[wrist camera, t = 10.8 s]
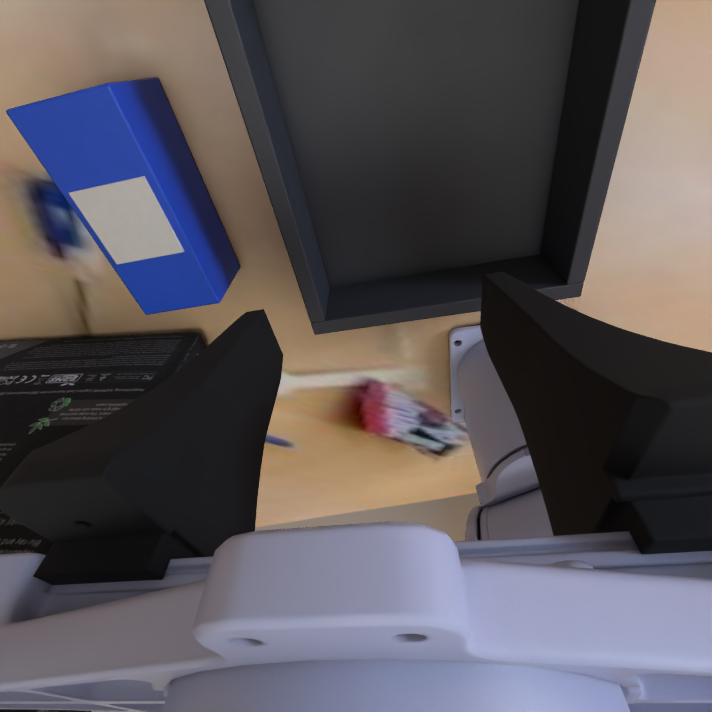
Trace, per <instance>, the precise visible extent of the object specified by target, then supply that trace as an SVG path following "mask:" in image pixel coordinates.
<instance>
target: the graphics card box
mask: <svg viewBox="0 0 712 712" xmlns="http://www.w3.org/2000/svg"><path fill="white" fill-rule="evenodd" d="M205 348H206V346H205V345H204V342H203V340H202V337H201V336H200V334H199V333H183V334H178V333H177V334H156V335H140V336H139V335H132V336H116V337H88V338H63V339H44V340H20V341H0V487H1V486H2V485H3V484H4V483H5V481H6V480H7V479H8V478H9V477H10V476H11V474H12V473H13V472H14V471H15V470H16V468H17V467H18V466H19V465H20V464H21V462H22V461H23V460H24V459H25V458H26V456H27V455H28V454H29V453H30V452H31V451H33V450H35V449H37V448H40V447H42V446H45V445H47V444H49V443H51V442H54V441H56V440H58V439H60V438H62V437H65V436H67V435H69V434H71V433H74V432H76V431H78V430H80V429H82V428H84V427H86V426H88V425H90V424H92V423H94V422H96V421H98V420H100V419H102V418H104V417H106V416H108V415H110V414H112V413H113V412H115V411H117V410H119V409H121V408H122V407H124V406H126V405H127V404H129V403H131V402H132V401H134V400H136V399H137V398H139V397H141V396H142V395H144V394H145V393H147V392H149V391H150V390H152V389H153V388H155V387H156V386H158V385H159V384H161V383H162V382H164V381H165V380H166V379H168V378H169V377H171V376H172V375H173V374H175V373H176V372H177V371H179V370H180V369H181V368H183V367H184V366H185V365H186V364H187V363H189V362H190V361H191V360H192V359H193V358H195V357H196V356H197V355H198V354H199V353H201V352H202V351H203V350H204V349H205ZM53 544H54V542H52V541H51V540H49V539H47V538H45V537H43V536H42V535H40V534H38V533H36V532H34V531H33V530H31V529H29V528H27V527H26V526H24V525H22V524H20V523H18V522H17V521H15V520H14V519H12V518H11V517H9V516H8V515H6V514H5V513H4V512H3V511H2V510H1V509H0V555H2V554H16V553H39V554H43V555H47V553H48V551H49V550H50V548H51V547H52V545H53ZM0 712H91V711H81V710H39V709H0Z"/></svg>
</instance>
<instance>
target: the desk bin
mask: <svg viewBox="0 0 712 712" xmlns="http://www.w3.org/2000/svg"><path fill="white" fill-rule="evenodd" d="M204 2H205V5H206V8H207V11H208V14H209V17H210V20H211V23H212V26H213V29H214V32H215V35H216V38H217V41H218V44H219V47H220V50H221V53H222V56H223V59H224V62H225V65H226V68H227V71H228V74H229V77H230V80H231V83H232V86H233V89H234V92H235V95H236V98H237V101H238V104H239V107H240V110H241V113H242V116H243V119H244V122H245V125H246V128H247V131H248V134H249V137H250V140H251V144H252V147H253V150H254V153H255V156H256V159H257V162H258V165H259V168H260V171H261V174H262V177H263V180H264V183H265V186H266V189H267V192H268V195H269V198H270V201H271V204H272V207H273V210H274V213H275V216H276V219H277V222H278V225H279V228H280V231H281V234H282V237H283V240H284V243H285V246H286V249H287V252H288V255H289V258H290V261H291V264H292V267H293V270H294V273H295V276H296V279H297V282H298V285H299V288H300V291H301V294H302V298H303V301H304V304H305V307H306V310H307V313H308V316H309V319H310V322H311V325H312V328H313V331H314V334H315V335H317V334H324V333H331V332H338V331H344V330H351V329H358V328H365V327H372V326H379V325H386V324H393V323H400V322H407V321H414V320H421V319H428V318H435V317H441V316H448V315H455V314H462V313H469V312H476V311H481V301H482V280H483V275H486V274H492V273H498V272H505V273H507V274H509V275H511V276H512V277H514V278H516V279H518V280H519V281H521V282H523V283H525V284H526V285H528V286H530V287H531V288H533V289H535V290H537V291H538V292H540V293H542V294H544V295H546V296H548V297H549V298H551V299H553V300H559V299H566V298H573V297H579V296H581V292H582V288H583V282H584V280H585V276H586V272H587V268H588V264H589V260H590V256H591V253H592V249H593V245H594V241H595V237H596V233H597V229H598V225H599V221H600V217H601V214H602V210H603V206H604V202H605V198H606V194H607V190H608V186H609V182H610V178H611V174H612V171H613V167H614V163H615V159H616V155H617V151H618V147H619V143H620V139H621V135H622V131H623V128H624V124H625V120H626V116H627V112H628V108H629V104H630V100H631V96H632V92H633V89H634V85H635V81H636V77H637V73H638V69H639V65H640V61H641V57H642V53H643V49H644V46H645V42H646V38H647V34H648V30H649V26H650V22H651V18H652V14H653V10H654V6H655V3H656V0H204Z"/></svg>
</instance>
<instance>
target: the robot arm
mask: <svg viewBox="0 0 712 712" xmlns="http://www.w3.org/2000/svg"><path fill="white" fill-rule="evenodd" d="M457 340H460V341H459V342H457V343H455V341H457ZM449 349H450V393H451V418H452V421H453V422H456V423H459V422H465V423H466V427H467V430H468V434H469V437H470V441H471V445H472V448H473V452H474V456H475V459H476V463H477V466H478V470H479V474H480V477H481V481H482V483H480V484H478V485H476V489H477V493H478V497H479V501H480V505H479V506H476V507H474V508H473V509H472V510H471V511H470V513H469V515H468V519H467V524H466V532H465V541H461V542H453V541H452V540H451V539H450V537H449V536H448V535H447V534H445V533H444V532H443V531H440V530H438V529H435V528H432V527H429V526H427V525H424V524H421V523H407V522H377V523H363V524H348V525H335V526H319V527H305V528H291V529H276V530H264V531H263V530H262V531H255V520H256V508H257V496H258V488H259V479H260V470H261V463H262V456H263V449H264V443H265V438H266V434H267V430H268V426H269V422H270V419H271V415H272V411H273V407H274V403H275V400H276V396H277V392H278V388H279V384H280V380H281V372H282V361H283V354H282V351H281V349H280V347H279V344H278V342H277V340H276V337H275V335H274V332H273V330H272V328H271V325H270V323H269V321H268V318H267V316H266V314H265V311H264V309H263V310H257V311H250V312H246V313H245V314H244V315H242V316H241V317H240V318H239V319H237V320H236V321H235V322H234V323H233V324H232V325H231V326H229V327H228V328H227V329H226V330H225V331H224V332H223V333H222V334H221V335H220V336H219V337H217V338H216V339H215V340H214V341H213V342H212V343H211V344H210V345H209V346H208V347H206V348H205V349H204V350H203V351H202V352H201V353H199V354H198V355H197V356H196V357H195V358H193V359H192V360H191V361H190V362H189V363H187V364H186V365H185V366H184V367H183V368H181V369H180V370H179V371H177V372H176V373H175V374H173V375H172V376H171V377H169V378H168V379H166V380H165V381H164V382H162V383H161V384H159V385H158V386H156V387H155V388H153V389H152V390H150V391H149V392H147V393H145V394H144V395H142V396H141V397H139V398H137V399H136V400H134V401H132V402H131V403H129V404H127V405H126V406H124V407H122V408H121V409H119V410H117V411H115V412H113V413H112V414H110V415H108V416H106V417H104V418H102V419H100V420H98V421H96V422H94V423H92V424H90V425H88V426H86V427H84V428H82V429H80V430H78V431H76V432H74V433H71V434H69V435H67V436H65V437H62V438H60V439H58V440H56V441H54V442H51V443H49V444H47V445H45V446H42V447H40V448H37V449H35V450H33V451H31V452H30V453H29V454H28V455H27V456H26V458H25V459H24V460H23V461H22V462H21V464H20V465H19V466H18V467H17V468H16V470H15V471H14V472H13V473H12V474H11V476H10V477H9V478H8V479H7V480H6V481H5V483H4V484H3V485H2V486H1V487H0V509H1V510H2V511H3V512H4V513H5V514H6V515H8V516H9V517H11V518H12V519H14V520H15V521H17V522H18V523H20V524H22V525H24V526H26V527H27V528H29V529H31V530H33V531H34V532H36V533H38V534H40V535H42V536H43V537H45V538H47V539H49V540H51V541H52V542H54V544H53V545H52V547H51V548H50V550H49V551H48V553H47V555H43V554H39V553H16V554H2V555H0V709H39V710H81V711H113V712H712V353H711V352H707V351H702V350H698V349H693V348H689V347H684V346H680V345H676V344H672V343H668V342H664V341H660V340H657V339H653V338H650V337H647V336H643V335H640V334H636V333H633V332H630V331H627V330H624V329H621V328H618V327H615V326H612V325H610V324H607V323H604V322H602V321H599V320H597V319H594V318H591V317H589V316H587V315H584V314H582V313H580V312H578V311H576V310H574V309H571V308H569V307H567V306H565V305H563V304H561V303H559V302H557V301H555V300H553V299H551V298H549V297H548V296H546V295H544V294H542V293H540V292H538V291H537V290H535V289H533V288H531V287H530V286H528V285H526V284H525V283H523V282H521V281H519V280H518V279H516V278H514V277H512V276H511V275H509V274H507V273H505V272H498V273H492V274H486V275H483V280H482V301H481V322H480V325H477V326H470V327H463V328H456V329H453V330H452V331H451V332H450V334H449Z"/></svg>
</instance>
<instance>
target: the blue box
mask: <svg viewBox="0 0 712 712" xmlns="http://www.w3.org/2000/svg"><path fill="white" fill-rule="evenodd" d="M6 112H7V114H8V116H9V117H10V119H11V120H12V121H13V123H14V124H15V126H16V127H17V129H18V130H19V132H20V133H21V135H22V136H23V137H24V139H25V140H26V142H27V143H28V145H29V146H30V148H31V149H32V150H33V152H34V153H35V155H36V156H37V158H38V159H39V161H40V162H41V164H42V165H43V166H44V168H45V169H46V171H47V172H48V174H49V175H50V177H51V178H52V179H53V181H54V182H55V184H56V185H57V187H58V188H59V190H60V191H61V193H62V194H63V195H64V197H65V198H66V200H67V201H68V203H69V204H70V206H71V207H72V208H73V210H74V211H75V213H76V214H77V216H78V217H79V219H80V220H81V222H82V223H83V224H84V226H85V227H86V229H87V230H88V232H89V233H90V235H91V236H92V237H93V239H94V240H95V242H96V243H97V245H98V246H99V248H100V249H101V251H102V252H103V253H104V255H105V256H106V258H107V259H108V261H109V262H110V264H111V265H112V266H113V268H114V269H115V271H116V272H117V274H118V275H119V277H120V278H121V280H122V281H123V282H124V284H125V285H126V287H127V288H128V290H129V291H130V293H131V294H132V295H133V297H134V298H135V300H136V301H137V303H138V304H139V306H140V307H141V309H142V310H143V311H144V313H145V314H146V315H148V314H154V313H160V312H166V311H173V310H179V309H185V308H191V307H197V306H203V305H209V304H215V303H220V301H221V300H222V298H223V296H224V294H225V293H226V291H227V289H228V288H229V286H230V284H231V282H232V281H233V279H234V277H235V275H236V274H237V272H238V270H239V268H240V265H239V263H238V261H237V258H236V256H235V254H234V251H233V249H232V247H231V244H230V242H229V240H228V238H227V235H226V233H225V231H224V228H223V226H222V224H221V222H220V219H219V217H218V215H217V212H216V210H215V208H214V205H213V203H212V201H211V199H210V196H209V194H208V192H207V189H206V187H205V185H204V183H203V180H202V178H201V176H200V173H199V171H198V169H197V166H196V164H195V162H194V160H193V157H192V155H191V153H190V150H189V148H188V146H187V144H186V141H185V139H184V137H183V134H182V132H181V130H180V127H179V125H178V123H177V121H176V118H175V116H174V114H173V111H172V109H171V107H170V105H169V102H168V100H167V98H166V95H165V93H164V91H163V88H162V86H161V84H160V82H159V80H158V78H148V79H139V80H131V81H122V82H114V83H106V84H102V85H98V86H95V87H91V88H87V89H83V90H79V91H76V92H72V93H68V94H64V95H60V96H57V97H53V98H49V99H45V100H42V101H38V102H34V103H30V104H26V105H23V106H19V107H15V108H11V109H8V110H7V111H6Z"/></svg>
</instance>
